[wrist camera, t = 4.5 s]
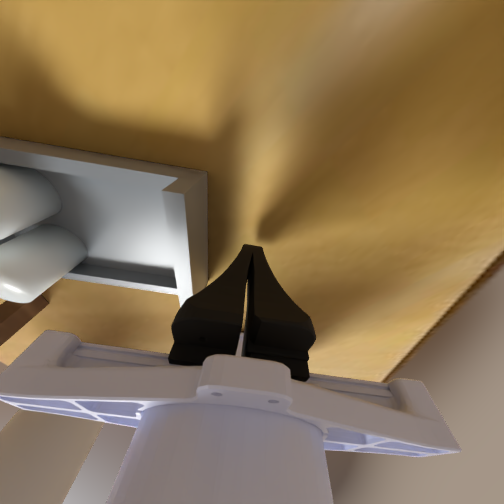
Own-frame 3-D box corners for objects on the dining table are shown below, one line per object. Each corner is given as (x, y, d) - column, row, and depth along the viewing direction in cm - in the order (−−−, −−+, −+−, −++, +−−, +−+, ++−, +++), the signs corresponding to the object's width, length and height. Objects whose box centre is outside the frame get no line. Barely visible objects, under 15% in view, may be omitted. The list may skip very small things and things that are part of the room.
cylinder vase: (78, 382, 40) (-109, 648, 20) (42, 357, 32) (-319, 747, 12) (134, 387, 40) (2, 662, 20) (111, 364, 32) (-142, 770, 12)
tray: (207, 171, 11) (172, 204, 7) (207, 281, 17) (189, 333, 13) (-63, 125, 11) (-270, 132, 7) (35, 255, 17) (-40, 302, 13)
